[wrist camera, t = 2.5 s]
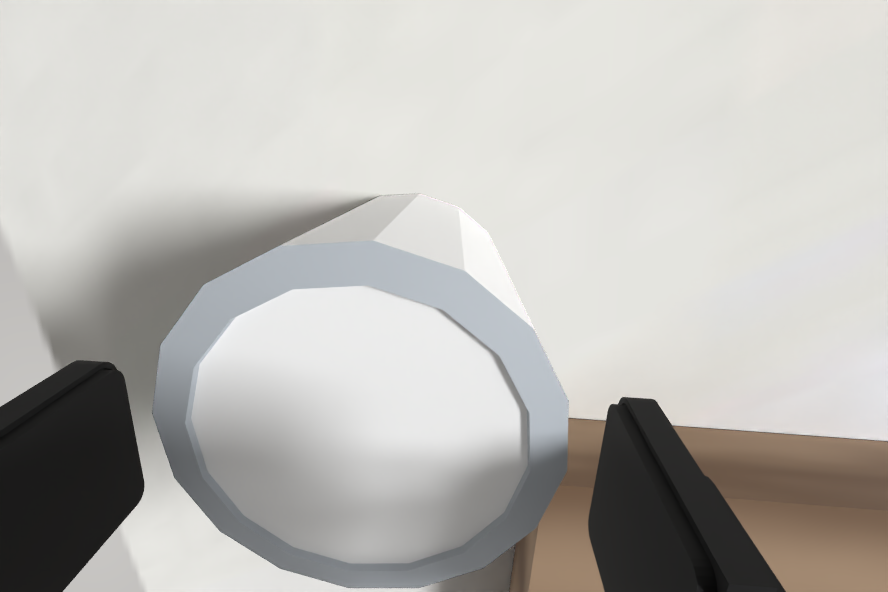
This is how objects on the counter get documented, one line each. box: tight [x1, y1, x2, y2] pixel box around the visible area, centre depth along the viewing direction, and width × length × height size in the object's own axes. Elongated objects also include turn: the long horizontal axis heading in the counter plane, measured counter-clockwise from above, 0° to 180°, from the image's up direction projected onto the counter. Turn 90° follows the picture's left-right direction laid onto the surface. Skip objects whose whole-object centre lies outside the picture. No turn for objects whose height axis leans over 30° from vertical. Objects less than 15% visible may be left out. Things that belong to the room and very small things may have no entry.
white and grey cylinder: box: [152, 193, 569, 588], centre depth 11 cm, size 7×7×7 cm
